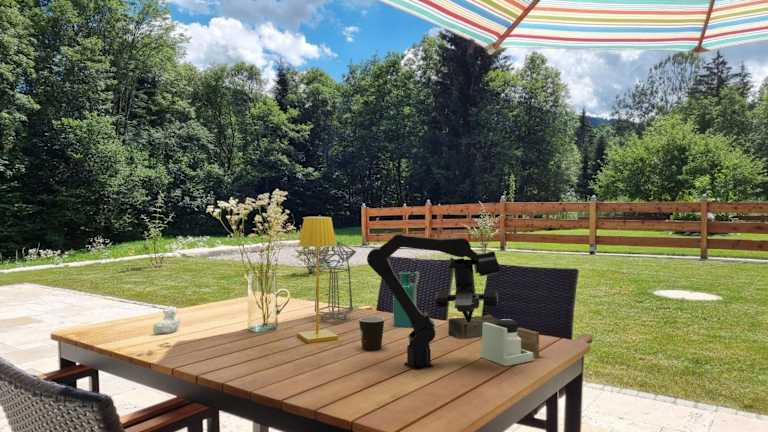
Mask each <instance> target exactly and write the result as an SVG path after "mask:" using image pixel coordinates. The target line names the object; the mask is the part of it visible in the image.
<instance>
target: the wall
mask: <svg viewBox="0 0 768 432" xmlns="http://www.w3.org/2000/svg"><path fill="white" fill-rule="evenodd" d="M517 335H518V336H519V337H520V338H521V349H523V350H526V351H529V352H533V360H534V359H539V358H540V332H538V331H534V330H531V329H528V328H527V329H526V328H524V327H517Z"/></svg>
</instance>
